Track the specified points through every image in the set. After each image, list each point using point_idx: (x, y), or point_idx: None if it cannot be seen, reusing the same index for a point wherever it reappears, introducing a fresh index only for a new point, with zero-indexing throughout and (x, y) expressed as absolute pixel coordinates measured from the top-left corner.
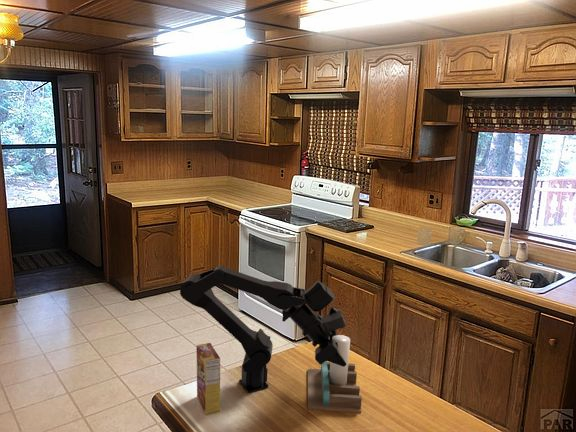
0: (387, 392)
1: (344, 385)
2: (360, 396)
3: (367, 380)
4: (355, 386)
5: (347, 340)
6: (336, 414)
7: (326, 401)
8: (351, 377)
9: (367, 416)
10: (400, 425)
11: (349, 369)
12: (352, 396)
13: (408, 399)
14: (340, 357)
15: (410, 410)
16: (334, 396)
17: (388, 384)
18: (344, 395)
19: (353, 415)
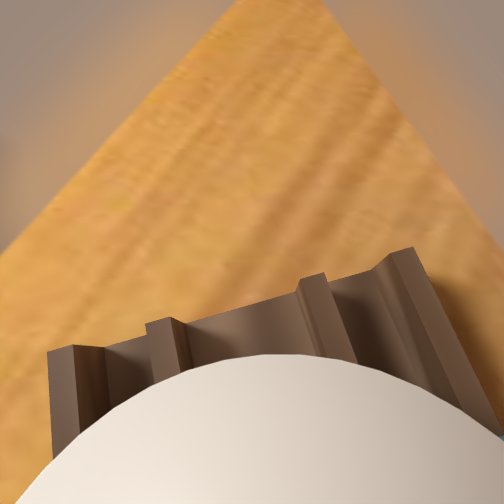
0: (199, 188)
1: None
2: (399, 255)
3: (125, 279)
4: (312, 298)
5: (304, 451)
6: (476, 367)
7: None
8: (181, 348)
9: (410, 235)
10: (399, 125)
11: (91, 378)
12: (423, 295)
13: (221, 118)
14: None
15: (290, 107)
16: (487, 400)
17: (135, 192)
18: (439, 341)
19: (437, 290)
